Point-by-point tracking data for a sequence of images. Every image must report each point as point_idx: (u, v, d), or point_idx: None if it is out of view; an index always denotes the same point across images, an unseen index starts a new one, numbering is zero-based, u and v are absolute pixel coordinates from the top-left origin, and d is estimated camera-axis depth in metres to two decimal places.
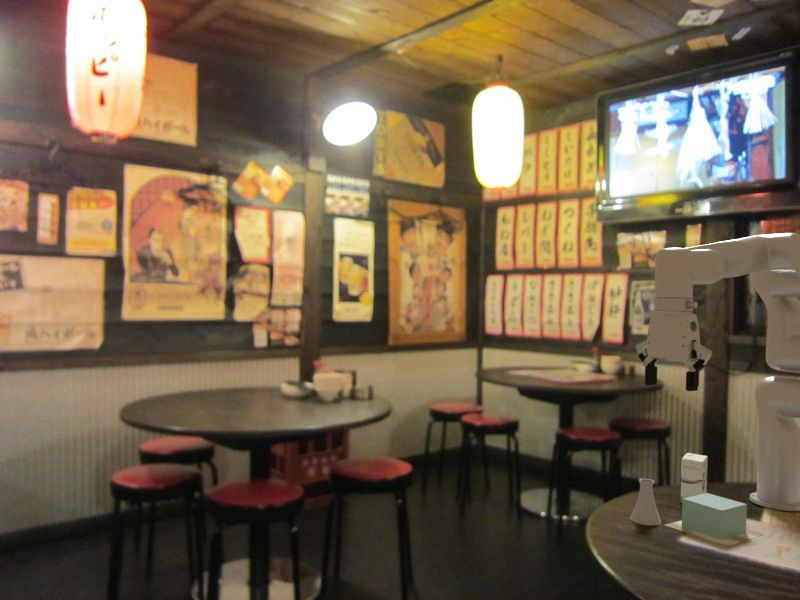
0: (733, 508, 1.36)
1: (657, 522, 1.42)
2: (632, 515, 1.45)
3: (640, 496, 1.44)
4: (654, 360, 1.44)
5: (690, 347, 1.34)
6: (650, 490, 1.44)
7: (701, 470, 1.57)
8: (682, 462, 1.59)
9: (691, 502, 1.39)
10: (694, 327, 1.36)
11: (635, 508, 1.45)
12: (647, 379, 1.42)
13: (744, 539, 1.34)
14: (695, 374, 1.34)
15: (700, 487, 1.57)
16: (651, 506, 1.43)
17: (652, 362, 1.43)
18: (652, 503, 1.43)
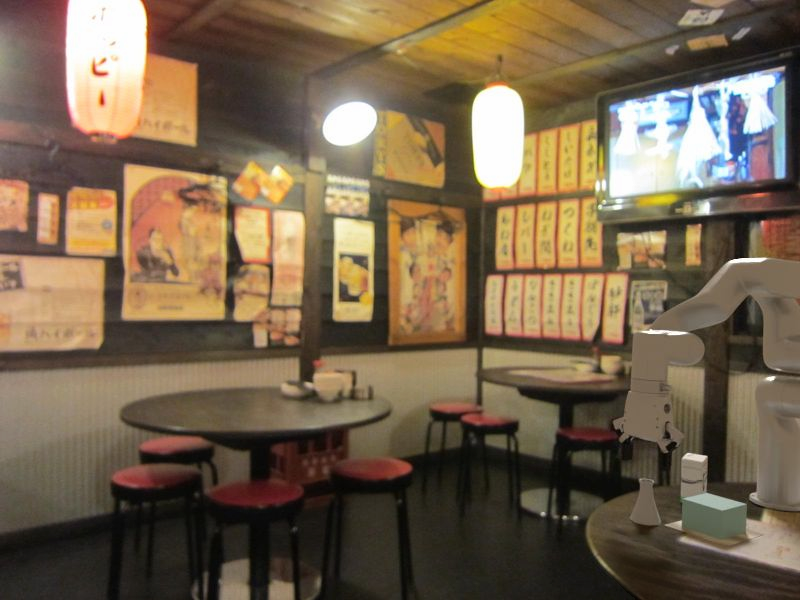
0: (733, 508, 1.36)
1: (657, 522, 1.42)
2: (632, 515, 1.45)
3: (640, 496, 1.44)
4: (630, 436, 1.49)
5: (663, 429, 1.40)
6: (650, 490, 1.44)
7: (701, 470, 1.57)
8: (682, 462, 1.59)
9: (691, 502, 1.39)
10: (668, 409, 1.41)
11: (635, 508, 1.45)
12: (623, 455, 1.48)
13: (744, 539, 1.34)
14: (668, 455, 1.39)
15: (700, 487, 1.57)
16: (651, 506, 1.43)
17: (628, 438, 1.49)
18: (652, 503, 1.43)
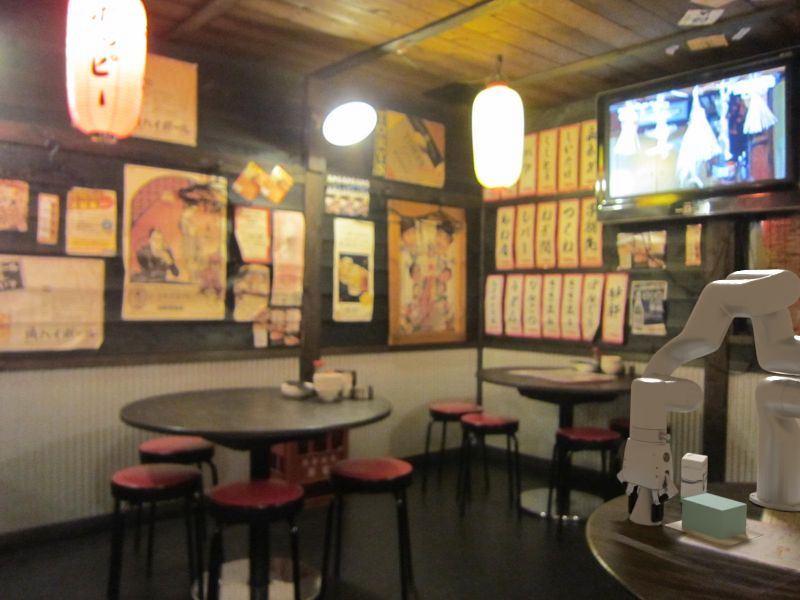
0: (733, 508, 1.36)
1: (657, 522, 1.42)
2: (632, 515, 1.45)
3: (640, 496, 1.44)
4: (636, 487, 1.48)
5: (663, 478, 1.40)
6: (650, 490, 1.44)
7: (701, 470, 1.57)
8: (682, 462, 1.59)
9: (691, 502, 1.39)
10: (667, 457, 1.42)
11: (635, 508, 1.45)
12: (630, 509, 1.46)
13: (744, 539, 1.34)
14: (660, 506, 1.41)
15: (700, 487, 1.57)
16: (651, 506, 1.43)
17: (634, 490, 1.48)
18: (652, 503, 1.43)
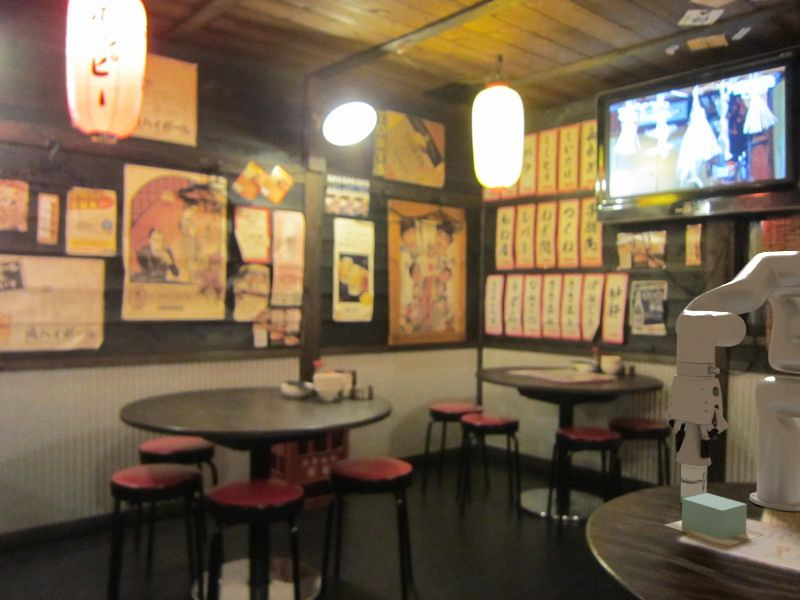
0: (733, 508, 1.36)
1: (706, 458, 1.39)
2: (680, 452, 1.42)
3: (688, 432, 1.41)
4: (683, 425, 1.45)
5: (713, 412, 1.37)
6: (698, 426, 1.40)
7: (701, 470, 1.57)
8: None
9: (691, 502, 1.39)
10: (716, 392, 1.38)
11: (683, 445, 1.42)
12: (678, 447, 1.43)
13: (744, 539, 1.34)
14: (709, 442, 1.38)
15: (700, 487, 1.57)
16: (699, 442, 1.40)
17: (682, 428, 1.45)
18: (700, 439, 1.40)
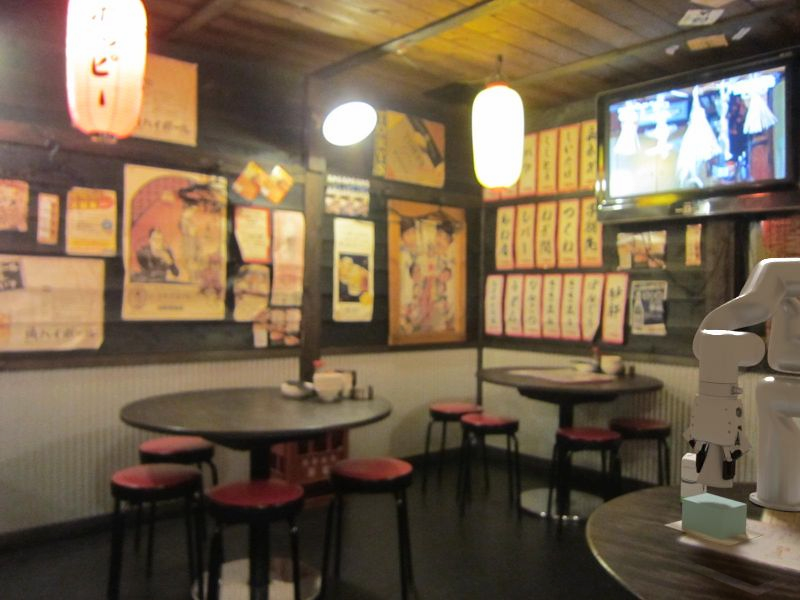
0: (733, 508, 1.36)
1: None
2: (701, 473, 1.40)
3: (709, 453, 1.39)
4: (704, 446, 1.43)
5: (736, 433, 1.35)
6: (720, 447, 1.39)
7: None
8: (682, 462, 1.59)
9: (691, 502, 1.39)
10: (739, 412, 1.37)
11: (704, 466, 1.40)
12: (699, 468, 1.41)
13: (744, 539, 1.34)
14: (732, 463, 1.36)
15: (700, 487, 1.57)
16: (721, 463, 1.38)
17: (702, 448, 1.43)
18: (722, 460, 1.38)
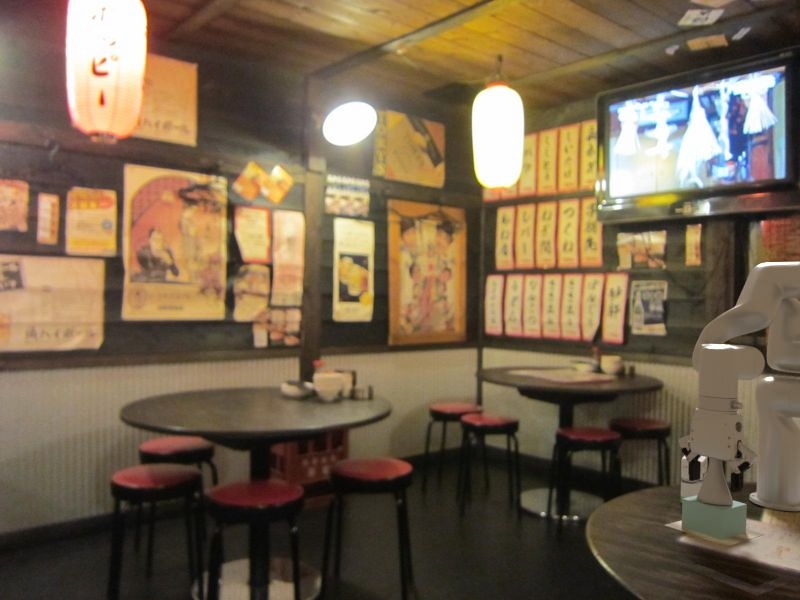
0: (733, 508, 1.36)
1: (728, 497, 1.37)
2: (701, 490, 1.40)
3: (709, 470, 1.39)
4: (697, 455, 1.44)
5: (736, 448, 1.35)
6: (720, 464, 1.39)
7: (701, 470, 1.57)
8: (682, 462, 1.59)
9: (691, 502, 1.39)
10: (739, 427, 1.37)
11: (704, 483, 1.40)
12: (691, 475, 1.43)
13: (744, 539, 1.34)
14: (740, 475, 1.35)
15: (700, 487, 1.57)
16: (721, 480, 1.38)
17: (695, 457, 1.44)
18: (722, 477, 1.38)
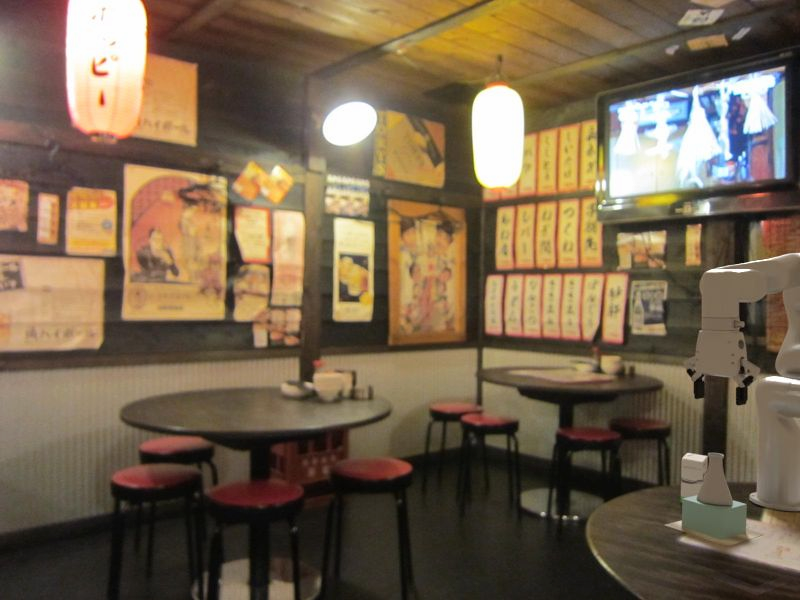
0: (733, 508, 1.36)
1: (728, 497, 1.37)
2: (701, 490, 1.40)
3: (709, 470, 1.39)
4: (702, 375, 1.52)
5: (739, 364, 1.43)
6: (720, 464, 1.39)
7: (701, 470, 1.57)
8: (682, 462, 1.59)
9: (691, 502, 1.39)
10: (741, 345, 1.45)
11: (704, 483, 1.40)
12: (697, 394, 1.51)
13: (744, 539, 1.34)
14: (744, 389, 1.43)
15: (700, 487, 1.57)
16: (721, 480, 1.38)
17: (700, 377, 1.52)
18: (722, 477, 1.38)
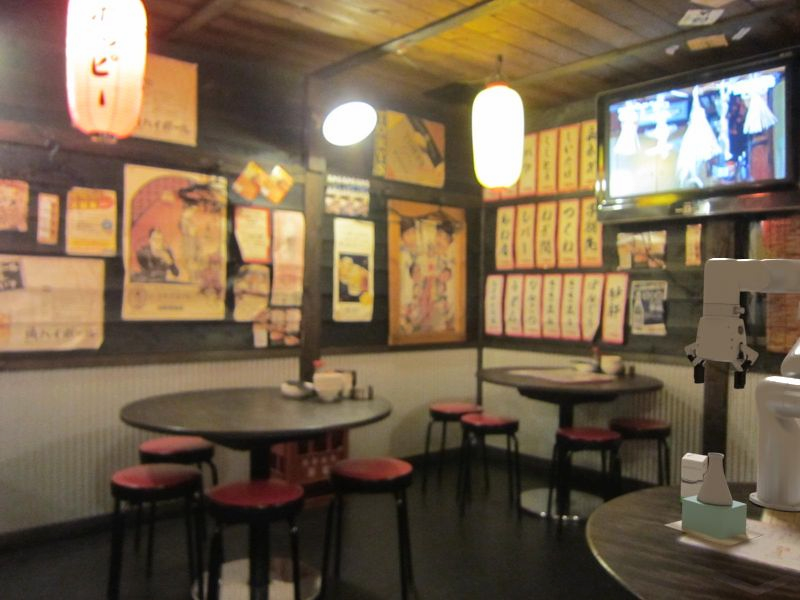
0: (733, 508, 1.36)
1: (728, 497, 1.37)
2: (701, 490, 1.40)
3: (709, 470, 1.39)
4: (702, 361, 1.57)
5: (738, 349, 1.47)
6: (720, 464, 1.39)
7: (701, 470, 1.57)
8: (682, 462, 1.59)
9: (691, 502, 1.39)
10: (741, 331, 1.49)
11: (704, 483, 1.40)
12: (696, 378, 1.55)
13: (744, 539, 1.34)
14: (742, 373, 1.47)
15: (700, 487, 1.57)
16: (721, 480, 1.38)
17: (700, 362, 1.57)
18: (722, 477, 1.38)
